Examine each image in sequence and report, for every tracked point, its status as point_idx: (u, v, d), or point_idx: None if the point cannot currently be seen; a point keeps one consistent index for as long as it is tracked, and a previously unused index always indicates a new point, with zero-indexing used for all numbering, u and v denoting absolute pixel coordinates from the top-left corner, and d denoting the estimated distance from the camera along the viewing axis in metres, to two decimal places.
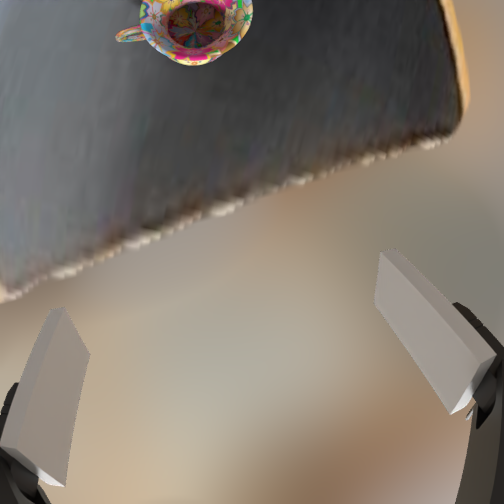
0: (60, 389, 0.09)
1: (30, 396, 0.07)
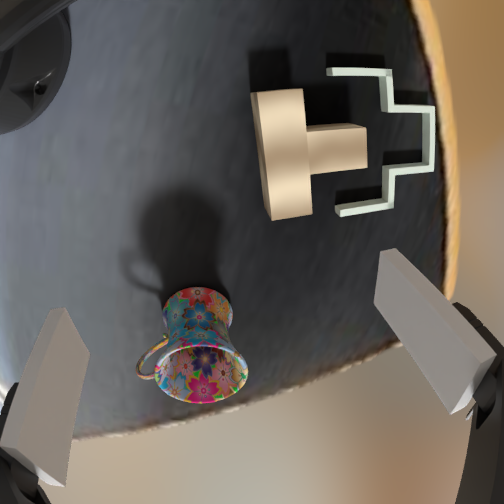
0: (60, 389, 0.09)
1: (30, 396, 0.07)
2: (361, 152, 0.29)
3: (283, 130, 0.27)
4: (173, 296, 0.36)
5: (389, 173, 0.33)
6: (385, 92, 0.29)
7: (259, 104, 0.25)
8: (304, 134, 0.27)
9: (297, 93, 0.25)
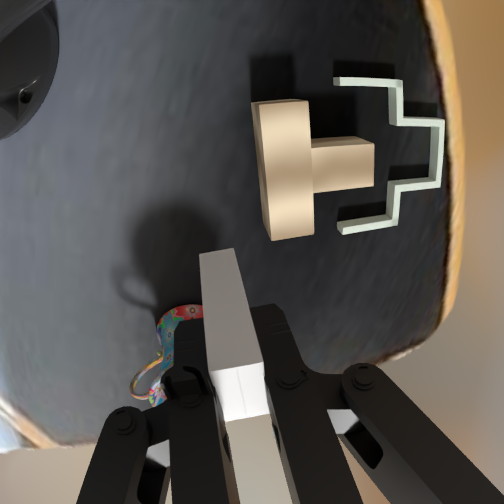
0: None
1: (226, 320, 0.10)
2: (368, 170, 0.27)
3: (286, 146, 0.25)
4: (167, 313, 0.34)
5: (394, 189, 0.31)
6: (394, 105, 0.27)
7: (261, 117, 0.24)
8: (308, 150, 0.26)
9: (302, 106, 0.24)
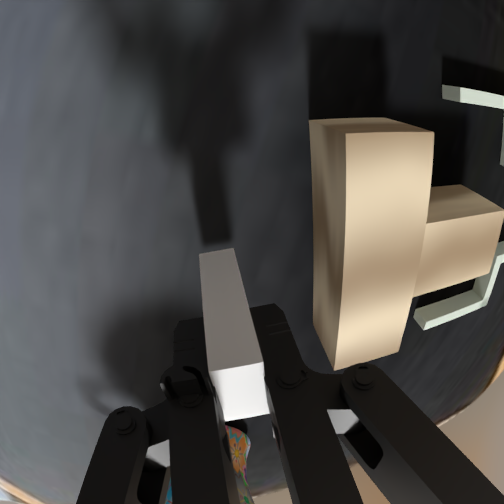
0: None
1: (226, 320, 0.10)
2: (489, 252, 0.14)
3: (387, 222, 0.12)
4: None
5: (495, 262, 0.18)
6: None
7: (348, 163, 0.11)
8: (421, 228, 0.12)
9: (424, 142, 0.11)
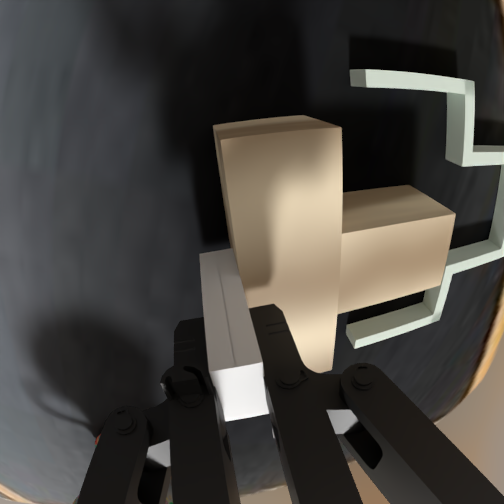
0: None
1: (227, 320, 0.10)
2: (438, 262, 0.14)
3: (287, 234, 0.11)
4: None
5: (444, 273, 0.18)
6: (460, 127, 0.13)
7: (227, 171, 0.10)
8: (336, 239, 0.12)
9: (328, 139, 0.10)
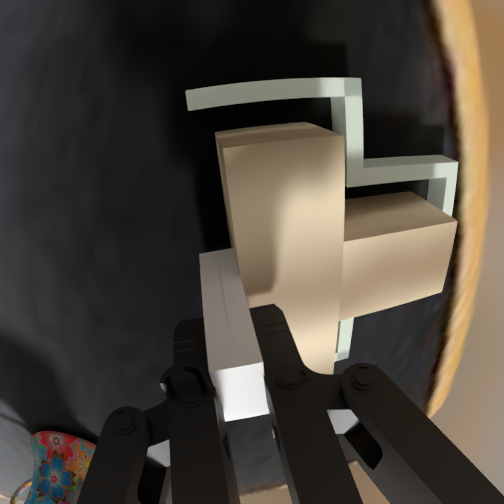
0: None
1: (227, 320, 0.10)
2: (439, 269, 0.14)
3: (290, 243, 0.11)
4: (34, 436, 0.20)
5: None
6: None
7: (229, 180, 0.10)
8: (338, 247, 0.12)
9: (331, 148, 0.10)
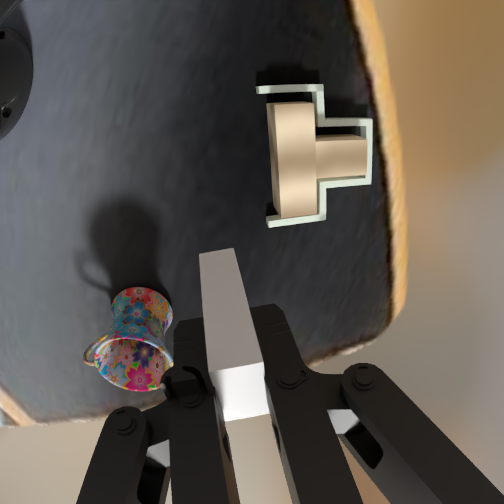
0: None
1: (227, 320, 0.10)
2: (362, 161, 0.33)
3: (295, 139, 0.31)
4: (119, 294, 0.39)
5: (319, 186, 0.36)
6: (316, 107, 0.32)
7: (275, 115, 0.29)
8: (313, 143, 0.31)
9: (309, 107, 0.29)
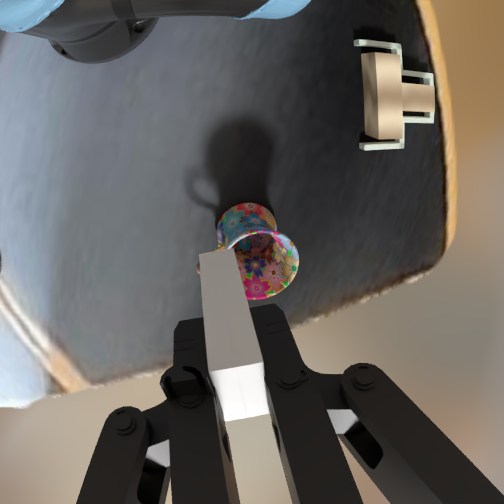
0: None
1: (226, 320, 0.10)
2: (431, 102, 0.37)
3: (388, 79, 0.35)
4: (229, 210, 0.43)
5: None
6: None
7: (376, 59, 0.33)
8: (400, 84, 0.35)
9: (397, 57, 0.33)
